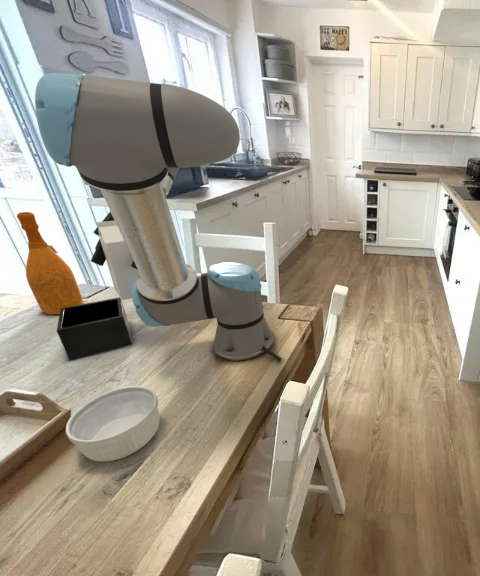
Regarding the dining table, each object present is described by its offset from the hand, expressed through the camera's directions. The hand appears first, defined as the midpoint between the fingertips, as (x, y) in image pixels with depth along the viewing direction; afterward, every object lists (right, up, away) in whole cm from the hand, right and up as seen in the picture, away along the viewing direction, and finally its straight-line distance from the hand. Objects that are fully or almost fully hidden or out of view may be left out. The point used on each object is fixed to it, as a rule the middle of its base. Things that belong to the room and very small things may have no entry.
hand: (116, 266), depth 78 cm
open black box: (-12, -20, +10) cm, 25 cm away
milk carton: (0, -7, +7) cm, 9 cm away
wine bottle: (-35, -12, +23) cm, 44 cm away
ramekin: (+15, -34, -16) cm, 41 cm away
